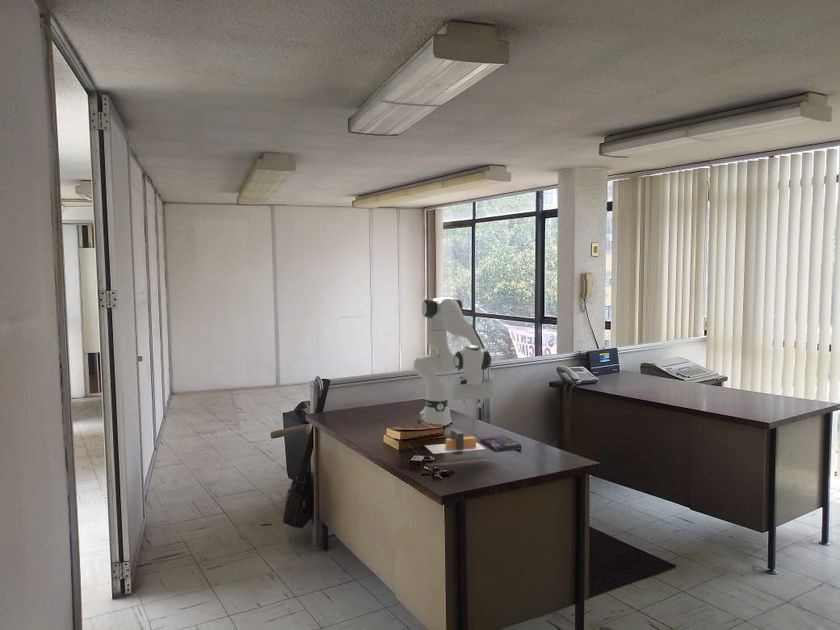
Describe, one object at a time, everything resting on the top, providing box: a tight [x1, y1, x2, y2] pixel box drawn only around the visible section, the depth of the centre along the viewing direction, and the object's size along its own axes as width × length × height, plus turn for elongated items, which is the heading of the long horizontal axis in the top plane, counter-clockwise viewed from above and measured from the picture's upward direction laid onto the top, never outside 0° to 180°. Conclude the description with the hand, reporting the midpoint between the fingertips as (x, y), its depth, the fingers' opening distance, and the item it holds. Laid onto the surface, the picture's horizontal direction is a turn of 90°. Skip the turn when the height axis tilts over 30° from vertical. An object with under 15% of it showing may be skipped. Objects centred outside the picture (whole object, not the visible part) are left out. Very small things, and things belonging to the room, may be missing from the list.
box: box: [477, 434, 522, 452], centre depth 296 cm, size 14×4×20 cm
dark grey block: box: [450, 428, 464, 449], centre depth 291 cm, size 10×3×7 cm, turn 17°
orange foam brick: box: [445, 435, 477, 449], centre depth 292 cm, size 4×14×4 cm, turn 107°
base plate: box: [424, 441, 486, 454], centre depth 291 cm, size 14×26×1 cm, turn 107°
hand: (472, 408), depth 293 cm, fingers open, 5 cm apart
